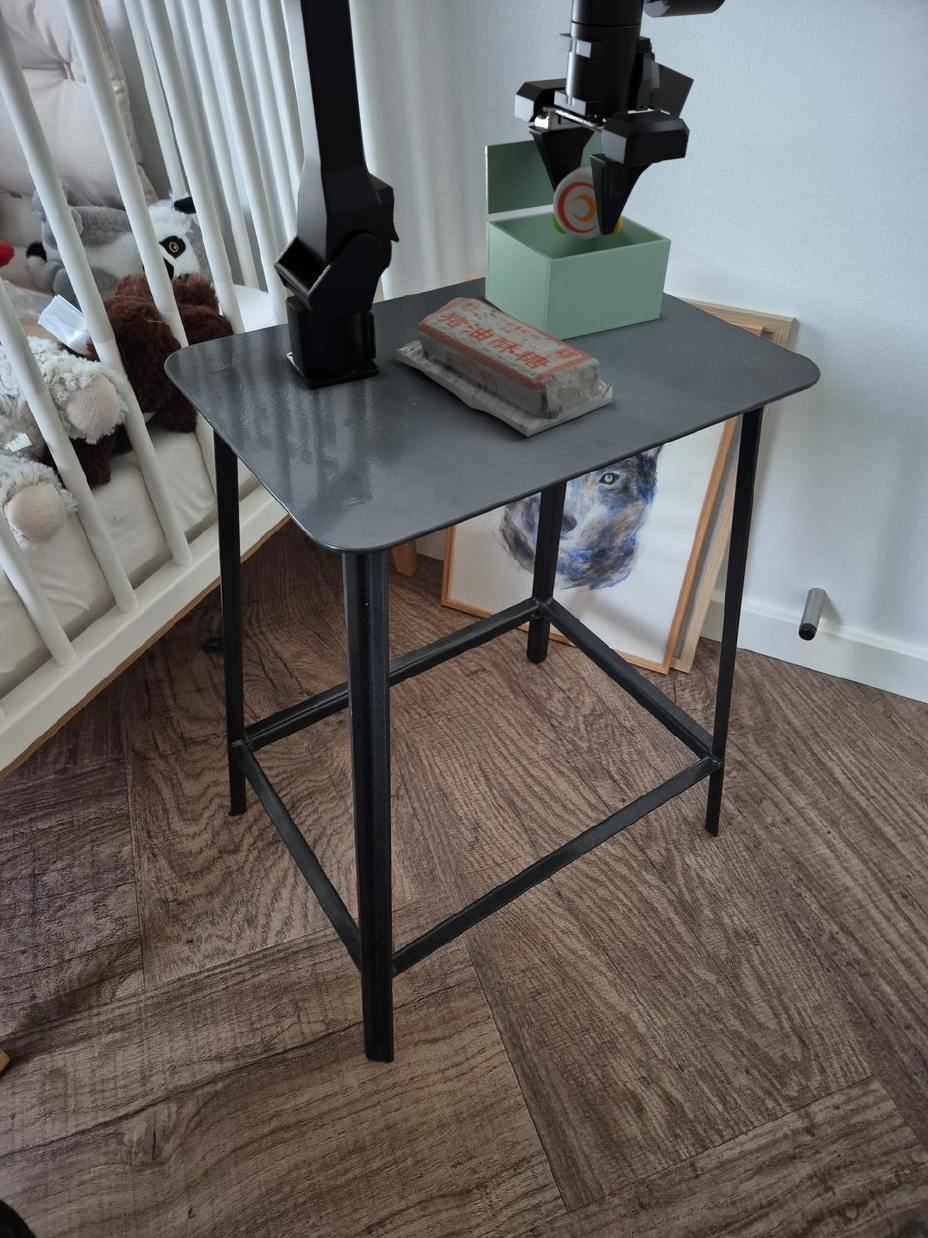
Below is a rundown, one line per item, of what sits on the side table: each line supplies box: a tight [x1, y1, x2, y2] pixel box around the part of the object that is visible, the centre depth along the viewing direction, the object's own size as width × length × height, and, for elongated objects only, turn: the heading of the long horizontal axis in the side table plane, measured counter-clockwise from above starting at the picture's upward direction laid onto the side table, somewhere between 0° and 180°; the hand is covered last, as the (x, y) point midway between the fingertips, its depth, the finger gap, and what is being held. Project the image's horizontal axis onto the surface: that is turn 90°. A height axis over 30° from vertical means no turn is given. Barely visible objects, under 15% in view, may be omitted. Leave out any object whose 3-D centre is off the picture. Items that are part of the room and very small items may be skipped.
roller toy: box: [552, 163, 623, 239], centre depth 81 cm, size 4×6×6 cm
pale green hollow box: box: [484, 210, 672, 341], centre depth 86 cm, size 13×12×8 cm
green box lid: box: [485, 131, 604, 215], centre depth 85 cm, size 13×6×1 cm
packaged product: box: [393, 297, 613, 438], centre depth 75 cm, size 18×5×10 cm
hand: (586, 223), depth 82 cm, fingers closed on roller toy, 6 cm apart
